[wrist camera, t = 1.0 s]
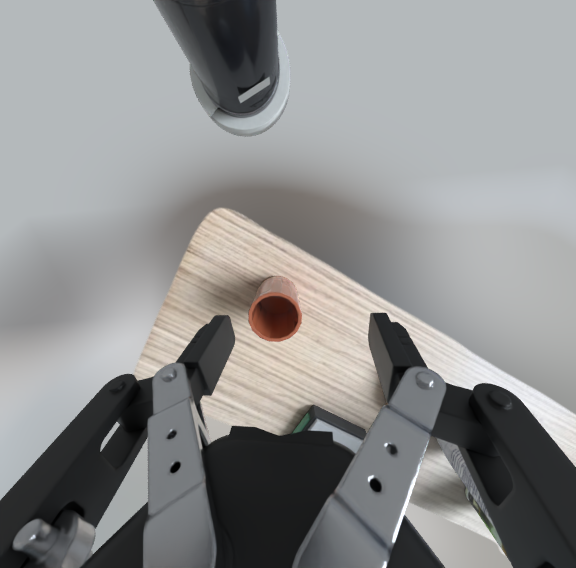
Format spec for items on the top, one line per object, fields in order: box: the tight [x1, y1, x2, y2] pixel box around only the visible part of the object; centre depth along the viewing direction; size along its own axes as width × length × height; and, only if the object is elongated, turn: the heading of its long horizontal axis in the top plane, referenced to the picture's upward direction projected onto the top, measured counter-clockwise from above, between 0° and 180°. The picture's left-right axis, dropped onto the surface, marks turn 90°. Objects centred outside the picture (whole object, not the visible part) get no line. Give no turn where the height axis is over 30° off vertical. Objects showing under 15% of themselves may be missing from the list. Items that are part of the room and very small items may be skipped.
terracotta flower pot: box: [248, 276, 302, 342], centre depth 28 cm, size 6×6×8 cm
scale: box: [293, 405, 367, 453], centre depth 38 cm, size 11×9×3 cm
